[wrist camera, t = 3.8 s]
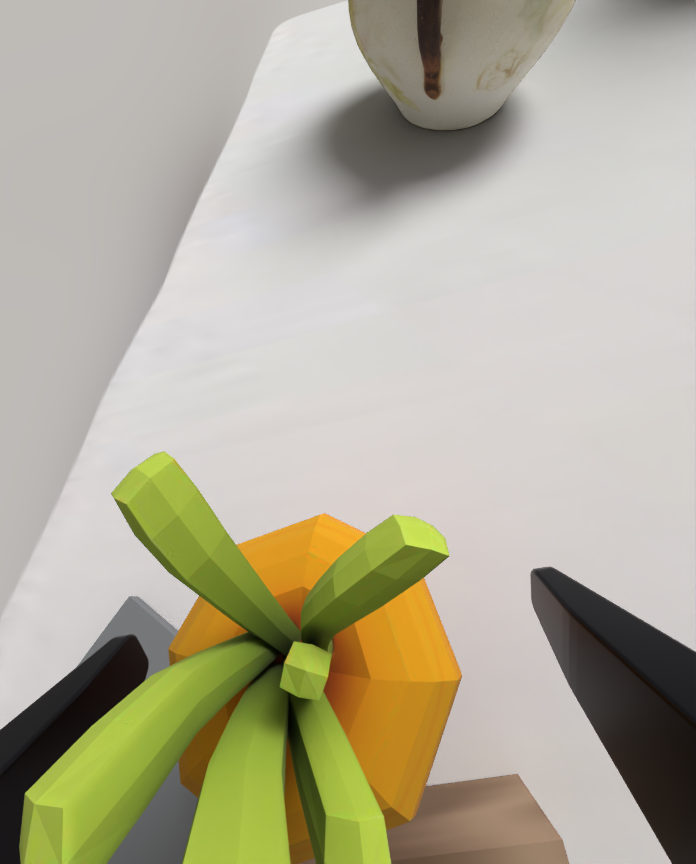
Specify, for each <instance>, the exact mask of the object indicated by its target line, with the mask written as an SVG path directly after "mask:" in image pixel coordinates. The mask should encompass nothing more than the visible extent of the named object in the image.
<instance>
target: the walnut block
mask: <svg viewBox="0 0 696 864" xmlns="http://www.w3.org/2000/svg"><path fill="white" fill-rule="evenodd" d="M386 833H387V839H388V846H389V852H390V859H391V864H569V861H568V858H567V854H566V851H565V847H564V844H563V841H562V839H561V837H560V836H559V834H558V833H557V831H556V830H555V828H554V827H553V825H552V824H551V822H550V821H549V820H548V818H547V817H546V815H545V814H544V812H543V811H542V809H541V808H540V806H539V805H538V803H537V802H536V800H535V799H534V797H533V796H532V795H531V793H530V792H529V790H528V789H527V787H526V786H525V784H524V783H523V781H522V780H521V778H520V777H519V775H518V774H515V775H507V776H500V777H492V778H485V779H478V780H470V781H463V782H455V783H448V784H440V785H433V786H425V789H424V792H423V795H422V798H421V801H420V804H419V807H418V810H417V813H416V816H415V817H414V818H413V819H412V820H411V821H410V822H407V823H405V824H402V825H399V826H397V827H394V828H392V829H389V830H386ZM299 864H316V861H315V858H313V859H310V860H307V861H305V862H302V863H299Z"/></svg>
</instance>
